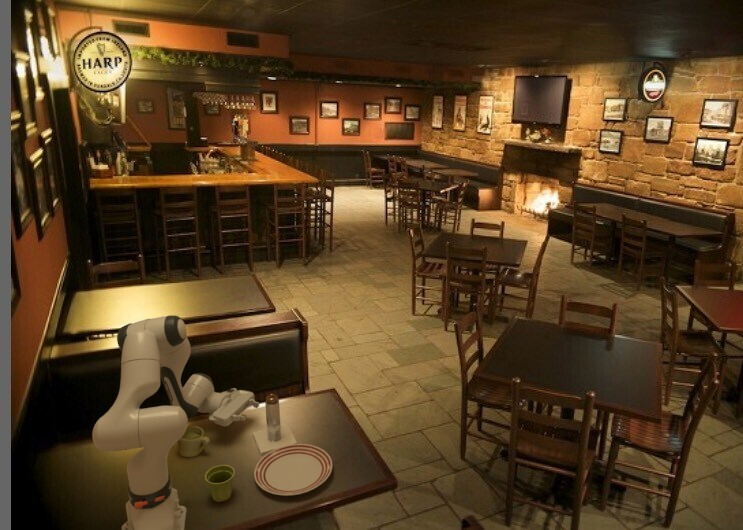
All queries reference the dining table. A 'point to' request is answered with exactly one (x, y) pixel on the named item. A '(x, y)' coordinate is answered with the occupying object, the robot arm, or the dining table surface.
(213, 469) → the plant pot
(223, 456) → the dining table surface
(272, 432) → the pepper mill
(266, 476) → the dinner plate
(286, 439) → the serving tile
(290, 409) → the dining table surface
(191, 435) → the mug
